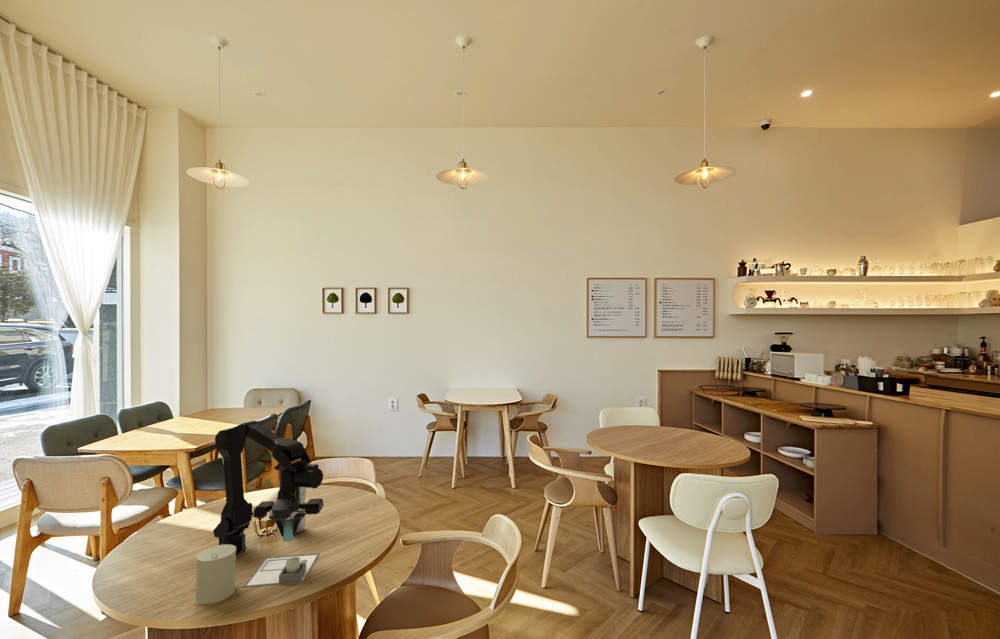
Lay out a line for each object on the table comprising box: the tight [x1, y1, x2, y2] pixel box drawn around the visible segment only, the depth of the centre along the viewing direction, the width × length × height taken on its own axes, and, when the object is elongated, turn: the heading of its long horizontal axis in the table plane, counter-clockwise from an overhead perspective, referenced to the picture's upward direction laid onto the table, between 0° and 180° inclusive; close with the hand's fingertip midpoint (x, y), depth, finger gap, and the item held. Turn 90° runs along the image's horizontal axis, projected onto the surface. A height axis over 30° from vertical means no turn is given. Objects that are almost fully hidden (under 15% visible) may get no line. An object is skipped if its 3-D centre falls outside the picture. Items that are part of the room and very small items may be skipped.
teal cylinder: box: [282, 517, 295, 542], centre depth 131 cm, size 3×3×6 cm
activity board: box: [242, 553, 320, 588], centre depth 127 cm, size 16×16×3 cm
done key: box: [286, 557, 300, 574], centre depth 122 cm, size 4×4×3 cm
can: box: [194, 544, 237, 606], centre depth 115 cm, size 9×9×12 cm
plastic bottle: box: [290, 487, 307, 534], centre depth 153 cm, size 6×7×20 cm
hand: (288, 536), depth 131 cm, fingers closed on teal cylinder, 3 cm apart
